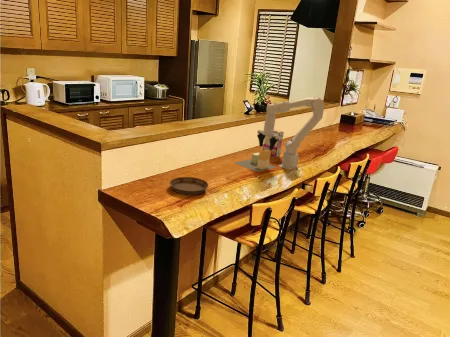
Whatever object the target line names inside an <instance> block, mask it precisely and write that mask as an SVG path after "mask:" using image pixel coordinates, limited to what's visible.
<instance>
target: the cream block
mask: <svg viewBox="0 0 450 337" xmlns="http://www.w3.org/2000/svg"><path fill="white" fill-rule="evenodd" d="M270 160H271V159H269V160H265V161H262V160H259V159H258V164H257V168H259V169H266V168H268V167H269V164H270Z"/></svg>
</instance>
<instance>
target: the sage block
mask: <svg viewBox="0 0 450 337" xmlns="http://www.w3.org/2000/svg"><path fill="white" fill-rule="evenodd" d="M258 159H259V152H256V153H255V152H254V153H251V162H253V163H255V164H256V163H258Z"/></svg>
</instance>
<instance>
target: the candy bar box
mask: <svg viewBox="0 0 450 337" xmlns="http://www.w3.org/2000/svg"><path fill="white" fill-rule="evenodd" d="M273 133H274V134H276V135H278V136H279V139H278V141H277V142H276V143H275V145H274V147H273V150H270V138H272V137H269V136H265V138H264V142H263V146H262V150H269V151H271V154H270V157H273V158H279V157H281V152H282V145H283V139H284V131H281V130H277V129H274V132H273Z"/></svg>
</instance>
